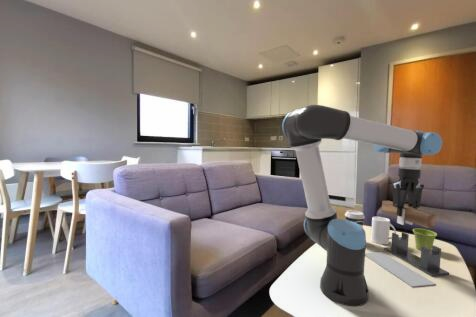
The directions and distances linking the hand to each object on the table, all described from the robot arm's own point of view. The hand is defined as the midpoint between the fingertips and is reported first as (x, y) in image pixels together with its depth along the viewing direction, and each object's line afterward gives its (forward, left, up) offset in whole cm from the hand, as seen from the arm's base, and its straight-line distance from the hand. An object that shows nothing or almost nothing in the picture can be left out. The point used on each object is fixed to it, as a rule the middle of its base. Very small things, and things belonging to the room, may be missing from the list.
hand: (404, 223), depth 101 cm
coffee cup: (-4, +26, -18) cm, 32 cm away
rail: (0, 0, +2) cm, 2 cm away
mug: (+10, +22, -18) cm, 30 cm away
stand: (+8, +2, -18) cm, 19 cm away
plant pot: (+24, +12, -18) cm, 32 cm away
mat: (-5, -2, -18) cm, 19 cm away
